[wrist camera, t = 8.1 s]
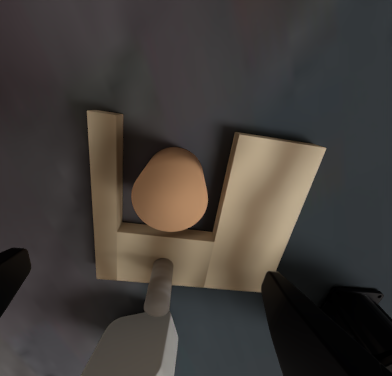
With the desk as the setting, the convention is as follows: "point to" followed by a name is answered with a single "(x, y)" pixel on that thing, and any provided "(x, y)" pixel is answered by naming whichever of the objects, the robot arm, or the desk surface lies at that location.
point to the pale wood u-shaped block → (194, 239)
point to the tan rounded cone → (171, 191)
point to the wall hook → (136, 347)
